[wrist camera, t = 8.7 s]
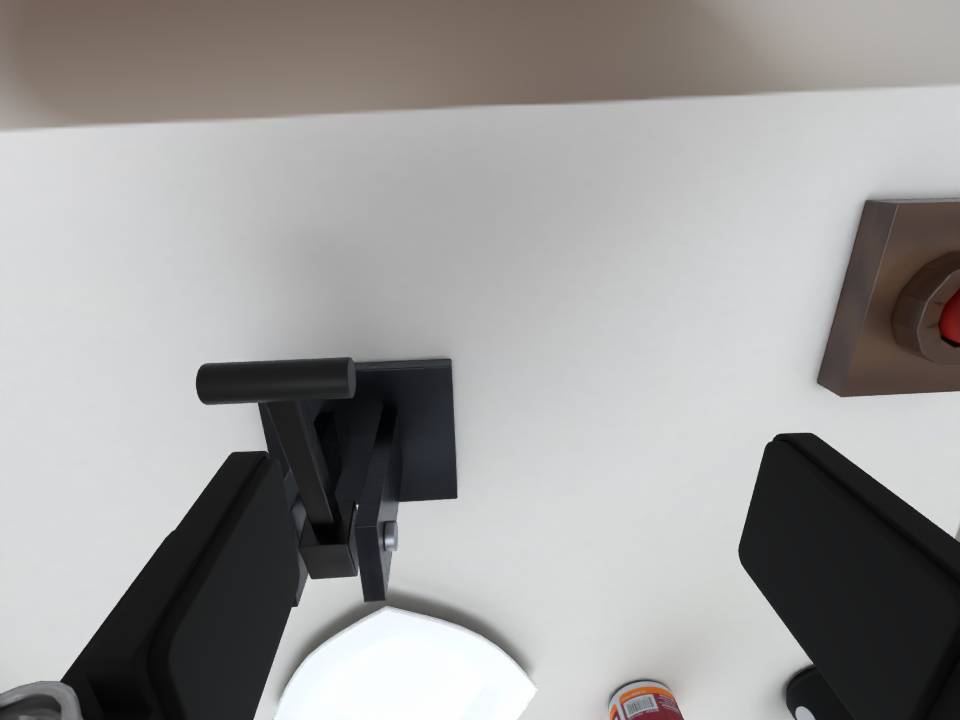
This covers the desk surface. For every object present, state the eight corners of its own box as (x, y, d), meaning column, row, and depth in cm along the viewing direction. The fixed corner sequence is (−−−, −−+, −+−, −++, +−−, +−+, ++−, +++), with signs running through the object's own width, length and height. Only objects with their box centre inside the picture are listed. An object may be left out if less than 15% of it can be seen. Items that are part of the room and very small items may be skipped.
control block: (865, 200, 29) (927, 205, 25) (1023, 196, 29) (1106, 201, 26) (816, 383, 33) (862, 410, 30) (953, 376, 34) (1015, 402, 30)
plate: (563, 663, 42) (569, 686, 41) (426, 776, 47) (425, 800, 45) (383, 562, 37) (380, 583, 35) (248, 702, 42) (239, 726, 40)
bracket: (258, 367, 30) (153, 483, 19) (451, 358, 31) (455, 466, 20) (285, 498, 34) (211, 657, 23) (457, 488, 35) (463, 638, 24)
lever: (211, 346, 17) (184, 392, 15) (353, 340, 18) (343, 384, 16) (292, 536, 25) (280, 582, 23) (390, 530, 25) (387, 575, 23)
